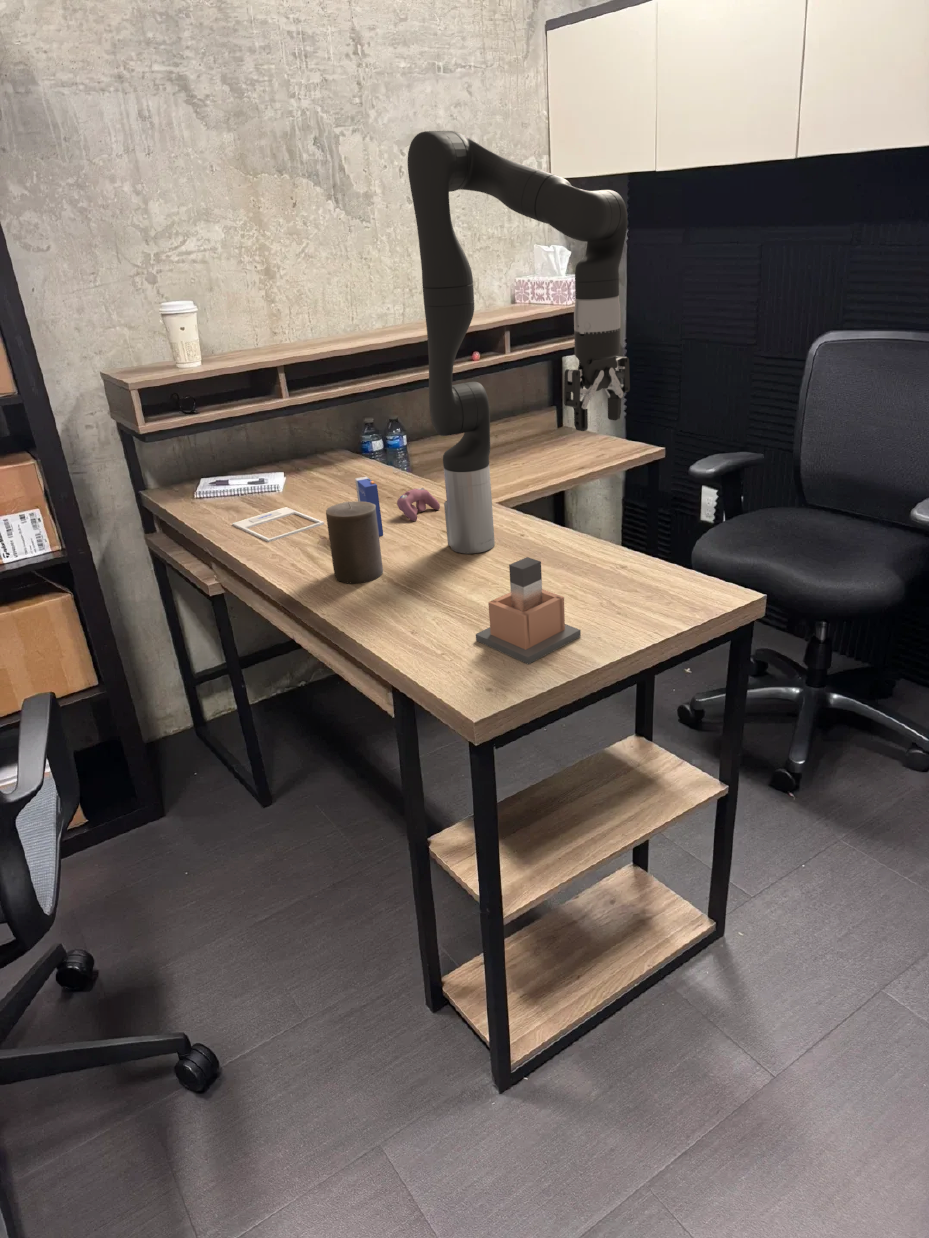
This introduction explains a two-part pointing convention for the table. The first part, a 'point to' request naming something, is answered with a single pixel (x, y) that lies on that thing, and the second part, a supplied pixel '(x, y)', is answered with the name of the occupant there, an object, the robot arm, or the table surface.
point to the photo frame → (271, 517)
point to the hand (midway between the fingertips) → (597, 425)
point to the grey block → (526, 584)
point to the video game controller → (421, 500)
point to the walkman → (369, 497)
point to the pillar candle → (354, 542)
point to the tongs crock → (527, 628)
